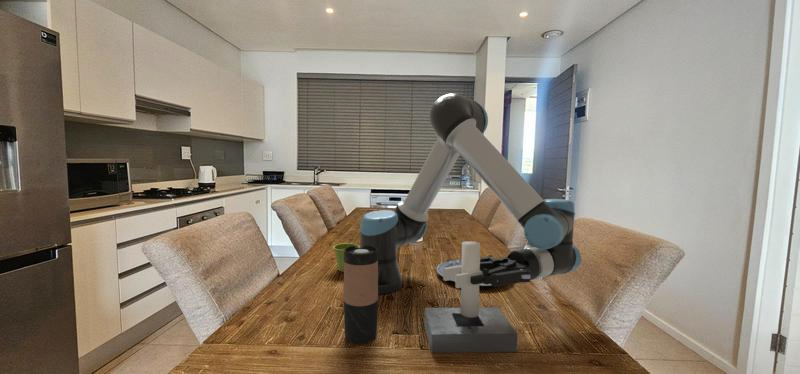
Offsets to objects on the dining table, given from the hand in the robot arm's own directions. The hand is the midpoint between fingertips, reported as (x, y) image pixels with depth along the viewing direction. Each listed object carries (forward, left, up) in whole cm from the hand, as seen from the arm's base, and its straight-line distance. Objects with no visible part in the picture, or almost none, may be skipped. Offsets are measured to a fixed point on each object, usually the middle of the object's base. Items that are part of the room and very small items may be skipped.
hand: (450, 277), depth 68 cm
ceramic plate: (-7, +43, -15) cm, 47 cm away
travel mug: (-18, -8, -15) cm, 25 cm away
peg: (+3, +4, -9) cm, 10 cm away
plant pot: (-49, +25, -15) cm, 57 cm away
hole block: (+3, +4, -15) cm, 15 cm away
